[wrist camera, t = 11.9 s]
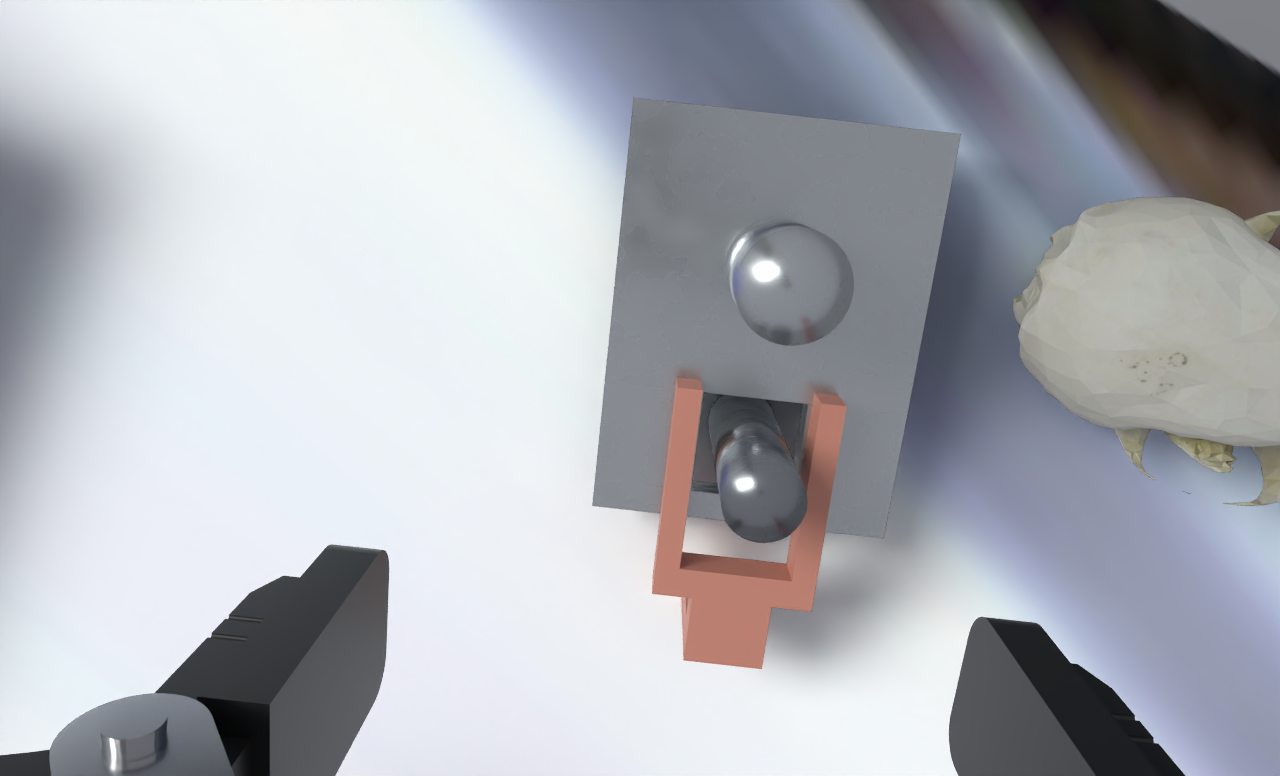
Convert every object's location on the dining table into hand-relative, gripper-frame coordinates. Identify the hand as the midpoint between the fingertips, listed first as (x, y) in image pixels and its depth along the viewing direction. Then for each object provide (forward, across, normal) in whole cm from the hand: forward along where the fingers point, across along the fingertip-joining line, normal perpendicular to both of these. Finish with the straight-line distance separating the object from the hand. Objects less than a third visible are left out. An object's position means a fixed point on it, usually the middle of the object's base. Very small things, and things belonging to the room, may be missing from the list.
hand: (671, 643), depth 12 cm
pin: (+36, -5, +7) cm, 37 cm away
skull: (+36, -29, 0) cm, 46 cm away
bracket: (+36, -5, +11) cm, 38 cm away
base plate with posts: (+36, -5, +1) cm, 36 cm away
